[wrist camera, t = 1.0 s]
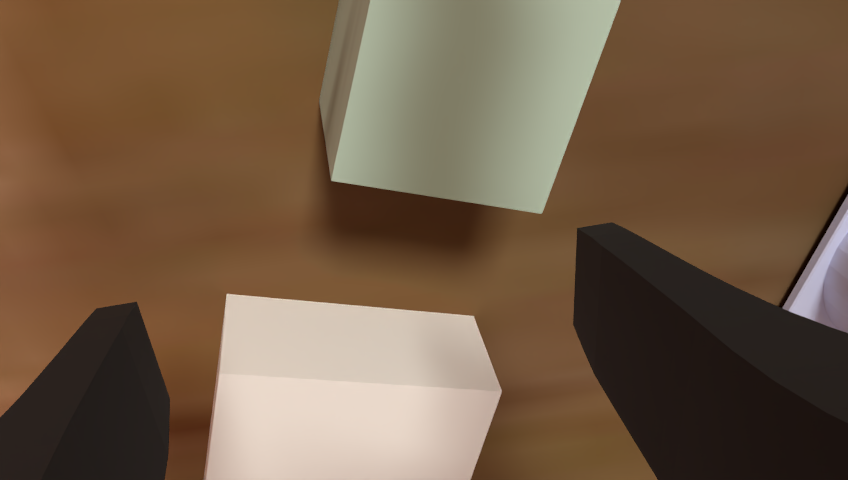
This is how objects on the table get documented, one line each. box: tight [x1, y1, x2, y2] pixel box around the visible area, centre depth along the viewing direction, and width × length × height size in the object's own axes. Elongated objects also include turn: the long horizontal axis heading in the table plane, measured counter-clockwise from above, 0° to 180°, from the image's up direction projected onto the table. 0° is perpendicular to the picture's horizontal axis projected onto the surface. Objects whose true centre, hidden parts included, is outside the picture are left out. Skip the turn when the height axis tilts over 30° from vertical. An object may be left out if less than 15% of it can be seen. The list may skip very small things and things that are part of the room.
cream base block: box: [204, 294, 502, 480], centre depth 25 cm, size 8×8×4 cm
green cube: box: [319, 0, 621, 214], centre depth 18 cm, size 5×5×5 cm
